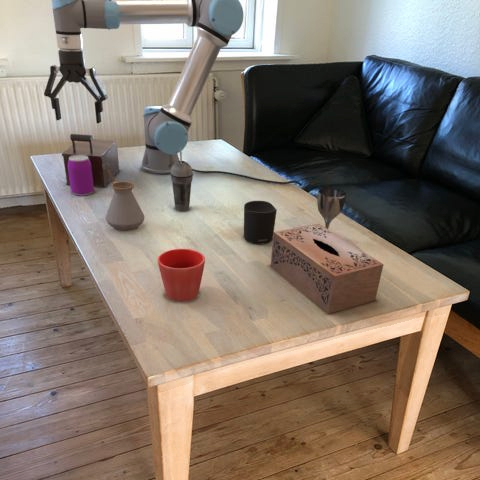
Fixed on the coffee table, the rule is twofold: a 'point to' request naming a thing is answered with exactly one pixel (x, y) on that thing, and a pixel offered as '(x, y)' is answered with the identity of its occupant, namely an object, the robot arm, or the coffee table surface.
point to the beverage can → (80, 175)
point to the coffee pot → (123, 206)
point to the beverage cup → (181, 184)
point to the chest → (100, 167)
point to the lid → (88, 146)
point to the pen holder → (259, 222)
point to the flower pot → (181, 273)
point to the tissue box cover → (325, 267)
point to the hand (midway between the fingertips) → (78, 121)
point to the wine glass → (330, 203)
